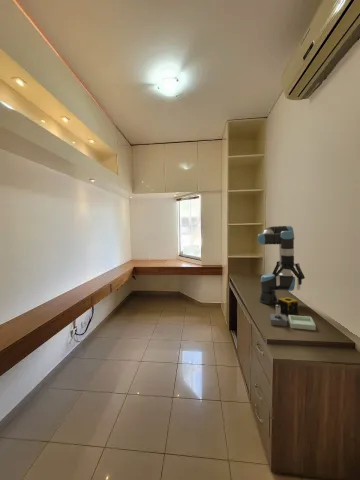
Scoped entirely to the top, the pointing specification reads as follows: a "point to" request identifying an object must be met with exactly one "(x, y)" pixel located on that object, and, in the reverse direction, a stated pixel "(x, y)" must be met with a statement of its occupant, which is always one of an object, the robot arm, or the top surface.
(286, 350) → the top surface
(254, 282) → the top surface
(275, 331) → the top surface
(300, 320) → the tray
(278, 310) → the pin
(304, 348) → the top surface
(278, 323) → the socket block
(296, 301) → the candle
